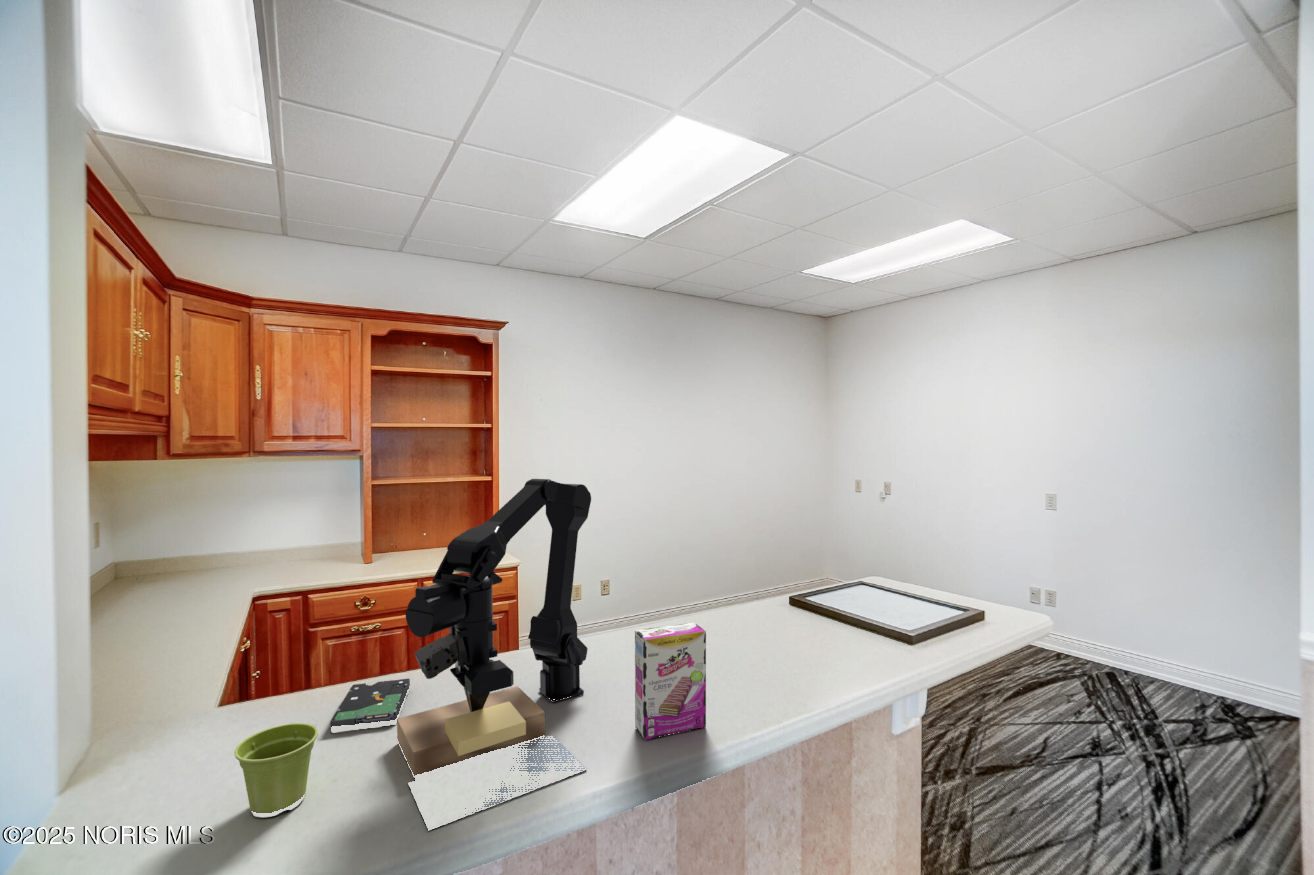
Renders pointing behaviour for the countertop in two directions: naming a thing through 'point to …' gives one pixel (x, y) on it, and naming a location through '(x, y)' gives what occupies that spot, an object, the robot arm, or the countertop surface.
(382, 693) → the disk drive
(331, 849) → the countertop surface
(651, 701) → the candy bar box
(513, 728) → the block
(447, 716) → the deck
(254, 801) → the plant pot
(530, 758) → the mat
